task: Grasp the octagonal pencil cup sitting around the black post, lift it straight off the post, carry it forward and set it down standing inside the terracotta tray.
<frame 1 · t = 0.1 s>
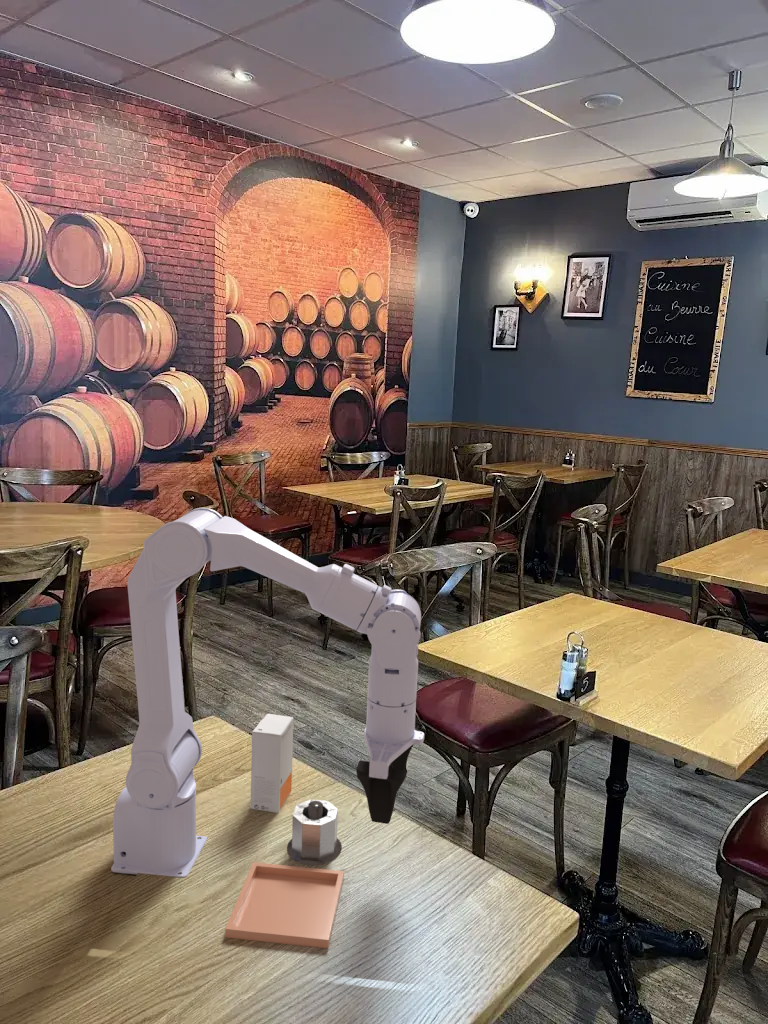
hand: (386, 802, 90), 10 cm above the table, tool pointing down, fingers open, 7 cm apart
skincare box: (271, 803, 107), on the table
octagonal pencil cup: (314, 847, 96), resting on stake
tray: (287, 909, 85), on the table
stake: (314, 850, 96), on the table
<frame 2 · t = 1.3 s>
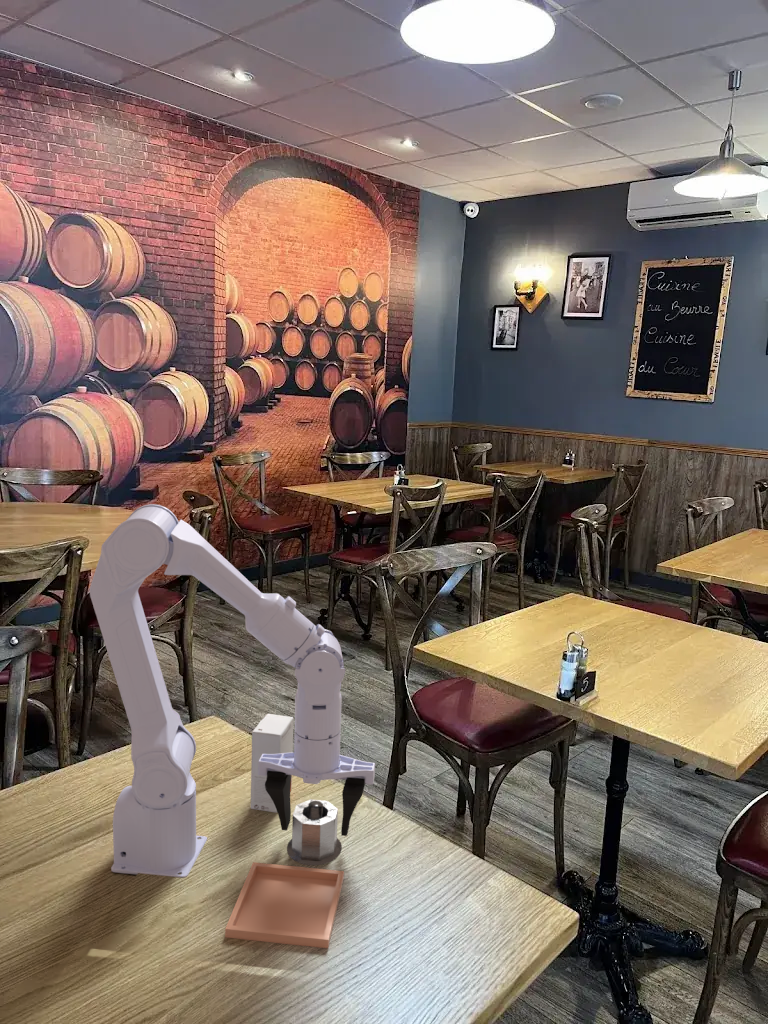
hand: (315, 828, 95), 3 cm above the table, tool pointing down, fingers open, 7 cm apart
nothing on the table moved.
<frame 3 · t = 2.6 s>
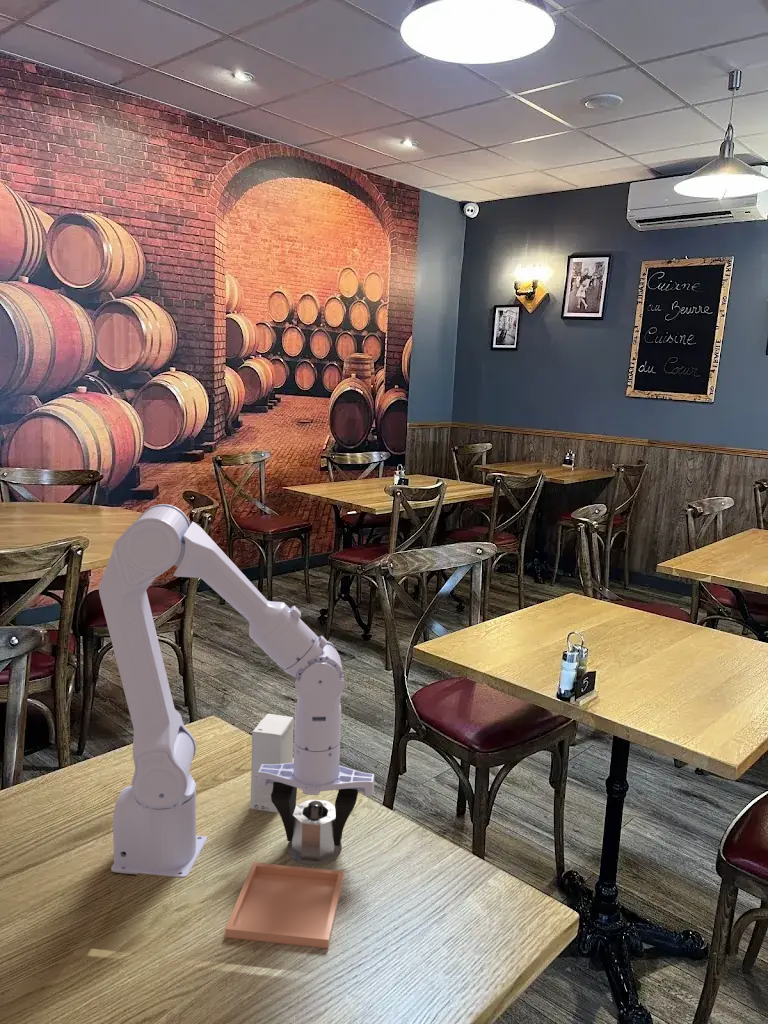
hand: (314, 838, 96), 2 cm above the table, tool pointing down, fingers closed on octagonal pencil cup, 5 cm apart
octagonal pencil cup: (314, 847, 96), resting on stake, touching gripper
everything else where it was.
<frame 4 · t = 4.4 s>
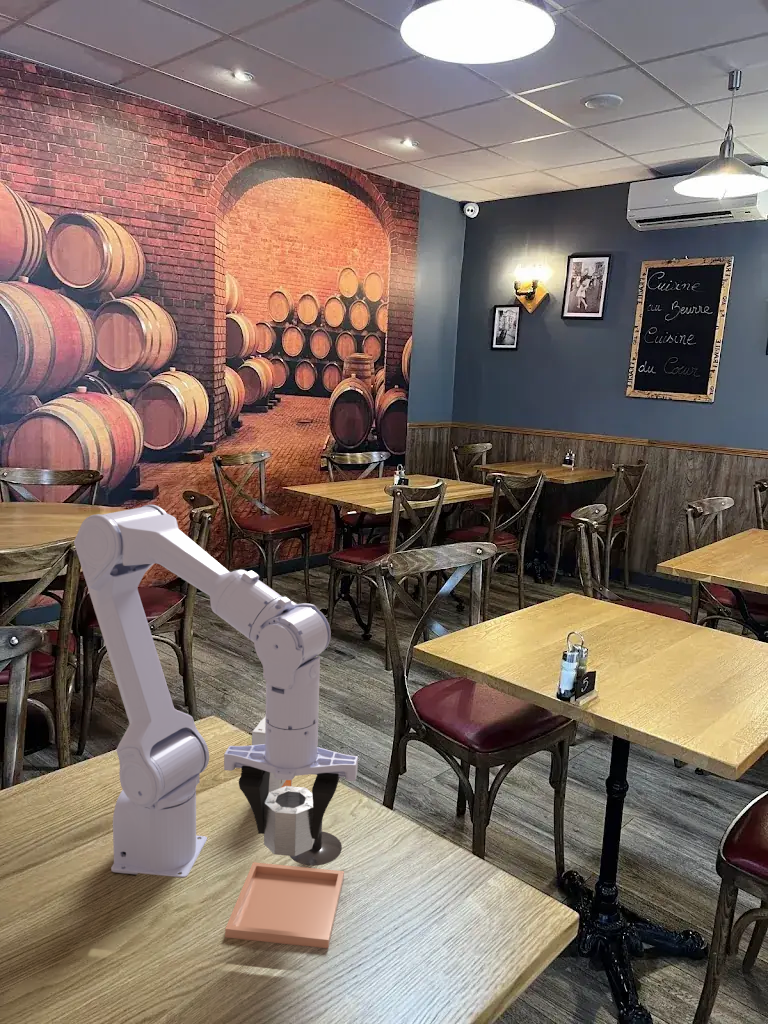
hand: (289, 831, 84), 10 cm above the table, tool pointing down, fingers closed on octagonal pencil cup, 5 cm apart
octagonal pencil cup: (289, 840, 84), point 9 cm above the table, touching gripper
everything else where it was.
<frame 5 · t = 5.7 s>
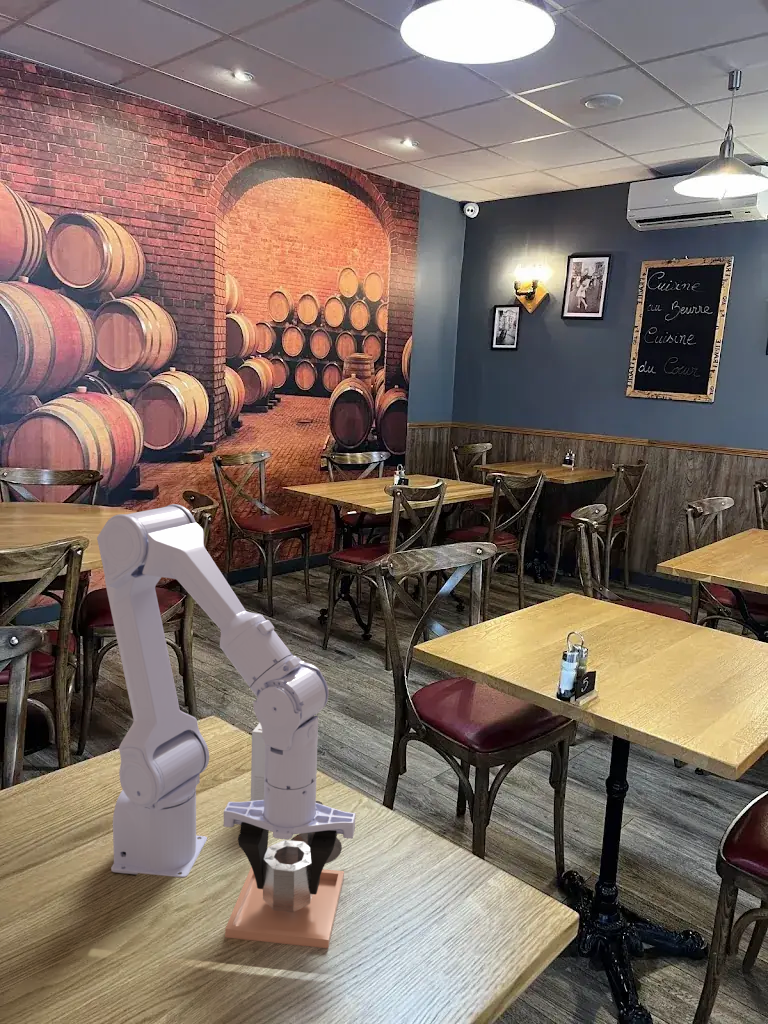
hand: (288, 885, 85), 3 cm above the table, tool pointing down, fingers closed on octagonal pencil cup, 5 cm apart
octagonal pencil cup: (288, 894, 85), point 2 cm above the table, touching gripper
everything else where it was.
when the fingers open (3 cm above the table, at t = 6.7 s): octagonal pencil cup drops 1 cm, resting on tray.
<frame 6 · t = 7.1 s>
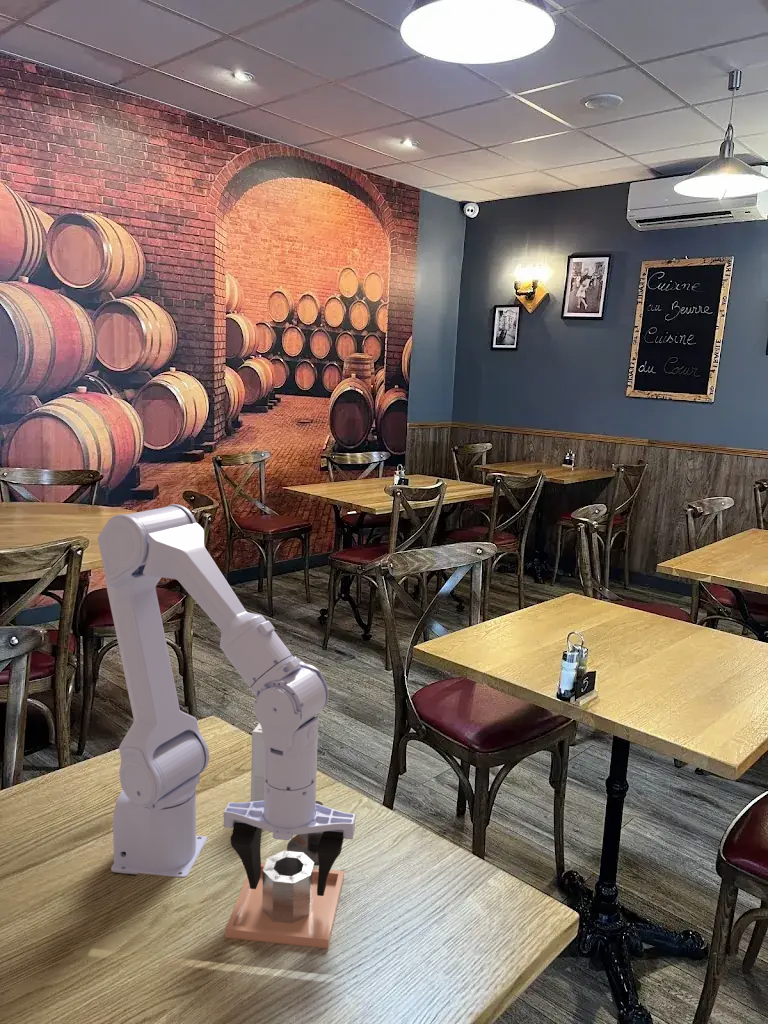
hand: (288, 886, 85), 3 cm above the table, tool pointing down, fingers open, 7 cm apart
octagonal pencil cup: (287, 905, 85), resting on tray
everything else where it was.
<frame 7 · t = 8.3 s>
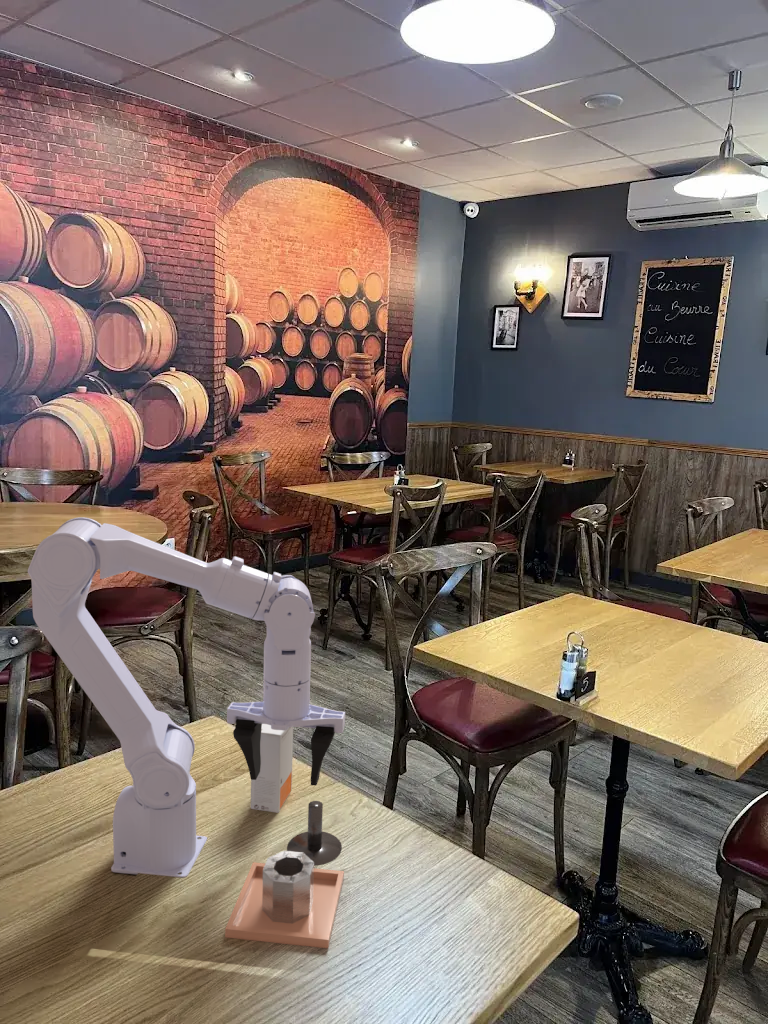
hand: (285, 778, 94), 10 cm above the table, tool pointing down, fingers open, 7 cm apart
nothing on the table moved.
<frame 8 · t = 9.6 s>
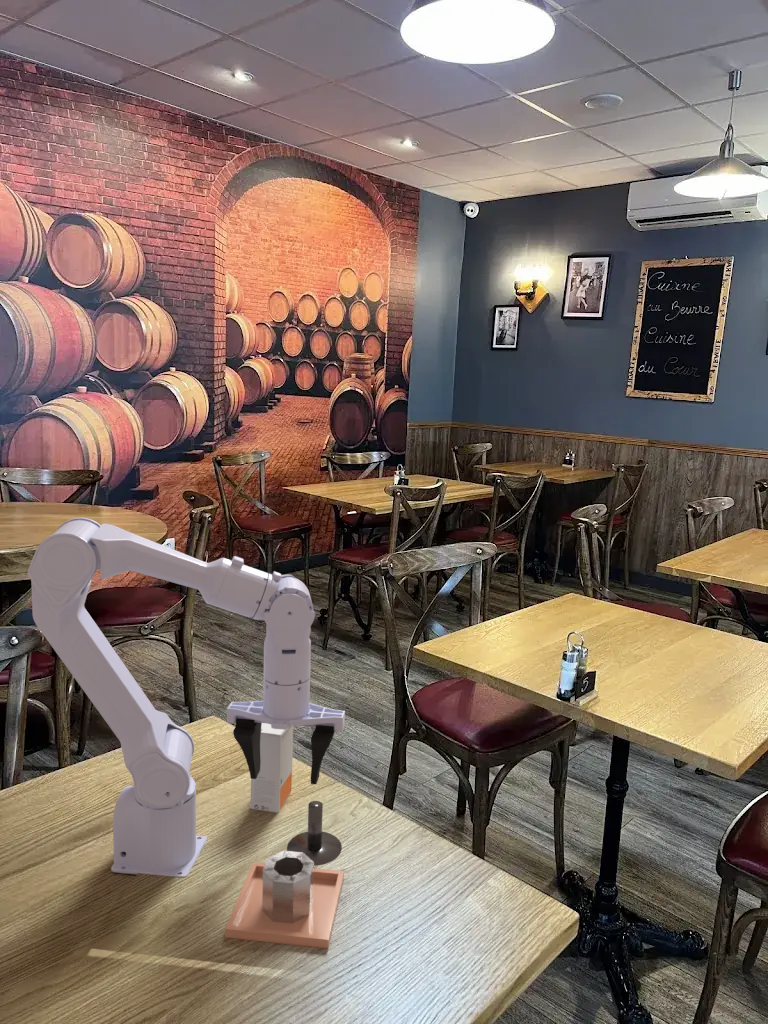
hand: (285, 777, 95), 10 cm above the table, tool pointing down, fingers open, 7 cm apart
nothing on the table moved.
at the end: octagonal pencil cup inside the target area on the tray (0.1 cm from its centre), point 0.5 cm above the tray's base; octagonal pencil cup tilted 0°; the gripper is holding nothing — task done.
